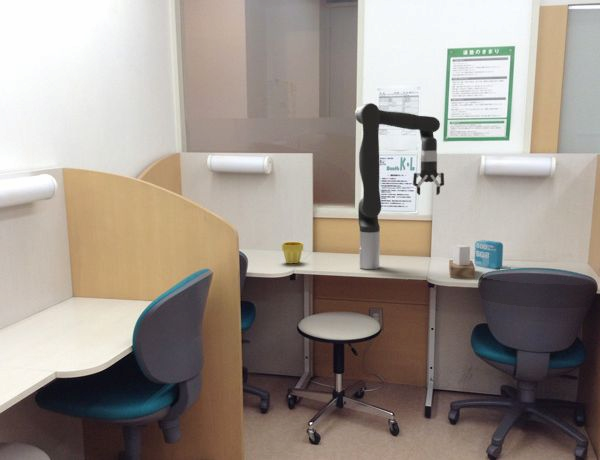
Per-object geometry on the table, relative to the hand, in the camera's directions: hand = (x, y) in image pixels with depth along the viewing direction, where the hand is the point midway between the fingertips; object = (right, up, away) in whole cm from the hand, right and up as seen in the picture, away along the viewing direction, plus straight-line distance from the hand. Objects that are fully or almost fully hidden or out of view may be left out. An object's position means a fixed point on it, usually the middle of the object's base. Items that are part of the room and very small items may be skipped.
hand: (428, 194), depth 279 cm
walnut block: (+11, -37, -19) cm, 42 cm away
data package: (+27, -34, -5) cm, 44 cm away
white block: (+10, -32, -19) cm, 38 cm away
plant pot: (-64, -33, +10) cm, 73 cm away
